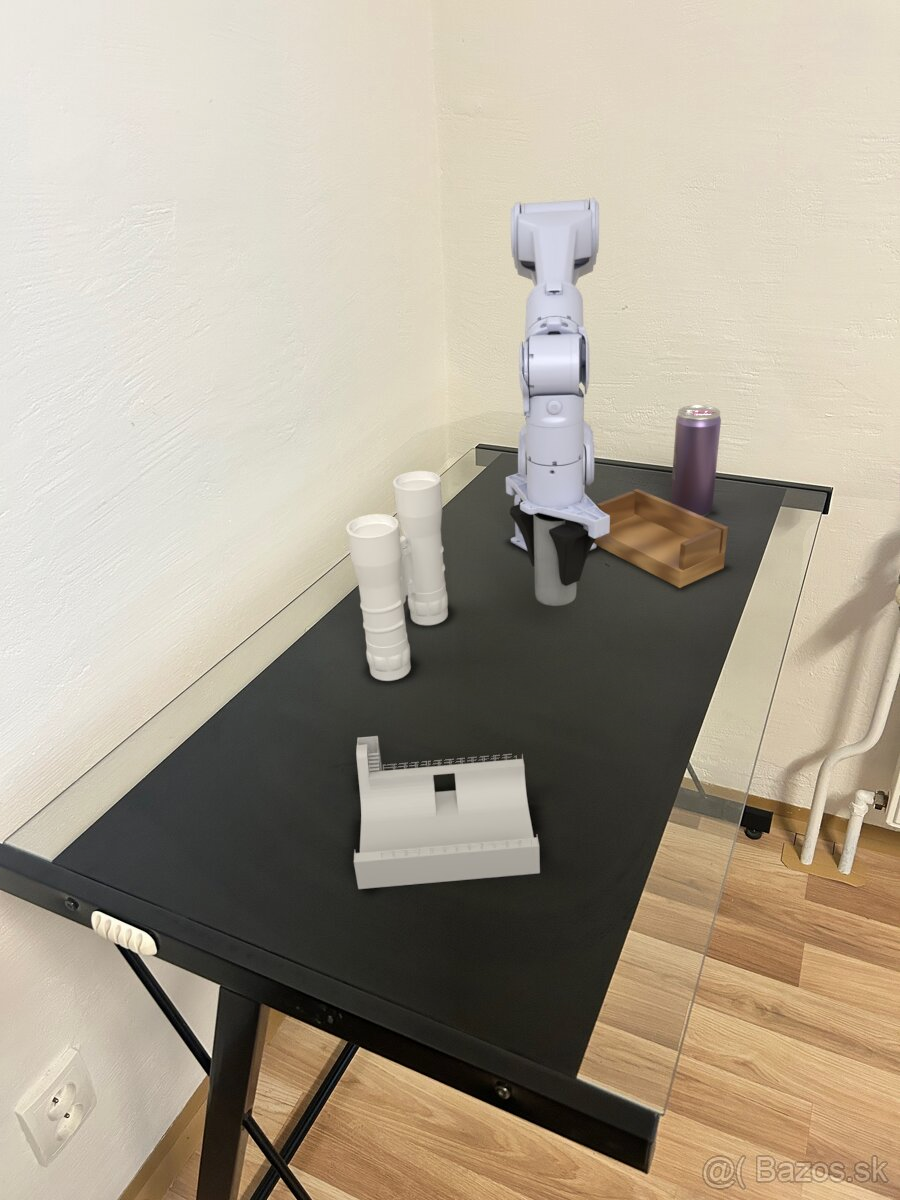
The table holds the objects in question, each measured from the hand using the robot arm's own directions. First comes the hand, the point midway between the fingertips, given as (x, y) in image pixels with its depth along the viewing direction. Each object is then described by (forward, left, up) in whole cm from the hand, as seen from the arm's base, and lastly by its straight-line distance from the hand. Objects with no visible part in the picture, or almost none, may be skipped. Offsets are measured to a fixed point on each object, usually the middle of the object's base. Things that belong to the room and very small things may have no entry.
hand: (555, 572), depth 96 cm
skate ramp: (+15, -25, -10) cm, 31 cm away
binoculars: (-12, -12, -10) cm, 20 cm away
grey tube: (0, 0, -3) cm, 3 cm away
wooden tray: (-8, +24, -10) cm, 27 cm away
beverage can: (-15, +38, -10) cm, 42 cm away
